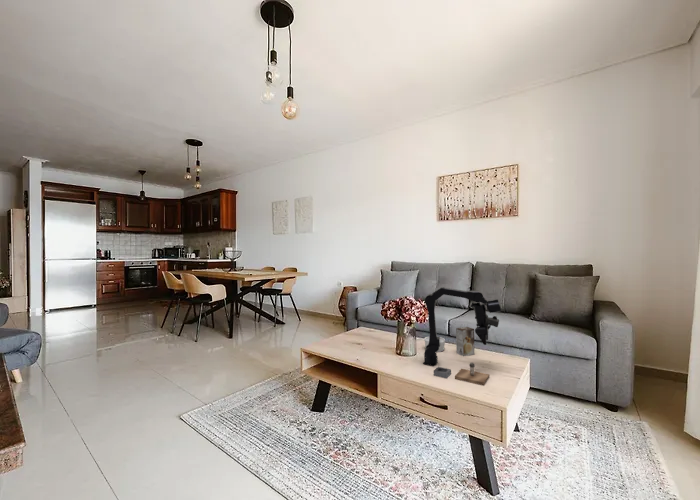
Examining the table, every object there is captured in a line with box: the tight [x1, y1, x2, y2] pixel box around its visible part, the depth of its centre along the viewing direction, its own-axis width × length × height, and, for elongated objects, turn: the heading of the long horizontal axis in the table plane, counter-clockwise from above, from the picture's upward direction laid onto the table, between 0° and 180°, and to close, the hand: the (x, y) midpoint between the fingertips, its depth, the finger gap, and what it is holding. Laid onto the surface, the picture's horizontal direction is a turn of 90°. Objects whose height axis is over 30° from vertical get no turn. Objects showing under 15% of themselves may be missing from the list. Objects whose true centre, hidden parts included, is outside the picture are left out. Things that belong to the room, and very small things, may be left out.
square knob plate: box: [454, 362, 490, 386], centre depth 162 cm, size 14×12×8 cm
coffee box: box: [455, 326, 476, 357], centre depth 199 cm, size 9×6×16 cm
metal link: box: [433, 366, 452, 379], centre depth 166 cm, size 7×7×2 cm
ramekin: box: [423, 336, 446, 353], centre depth 208 cm, size 13×13×7 cm
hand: (486, 342), depth 174 cm, fingers open, 9 cm apart
